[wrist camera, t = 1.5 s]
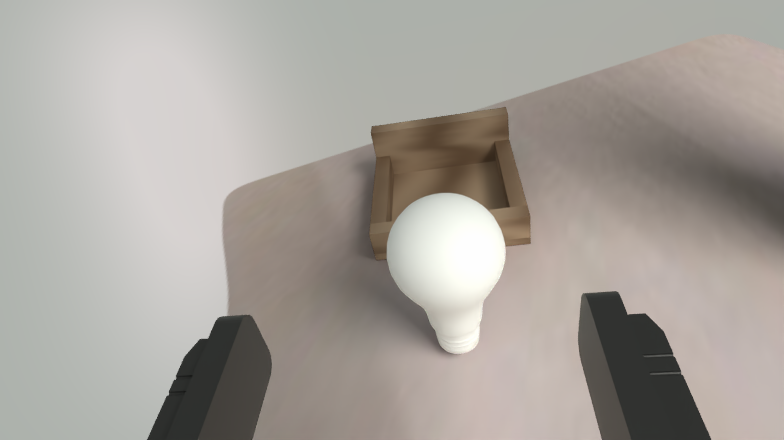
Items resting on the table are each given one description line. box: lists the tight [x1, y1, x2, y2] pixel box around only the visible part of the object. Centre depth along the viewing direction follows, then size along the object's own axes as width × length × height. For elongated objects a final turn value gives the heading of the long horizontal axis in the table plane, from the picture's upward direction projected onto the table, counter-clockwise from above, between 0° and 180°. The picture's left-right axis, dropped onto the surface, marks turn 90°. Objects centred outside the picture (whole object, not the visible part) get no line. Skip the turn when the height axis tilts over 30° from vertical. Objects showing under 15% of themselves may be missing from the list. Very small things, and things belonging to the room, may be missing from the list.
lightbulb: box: [387, 193, 506, 354], centre depth 28 cm, size 6×6×11 cm
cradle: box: [369, 107, 531, 260], centre depth 41 cm, size 11×11×5 cm
